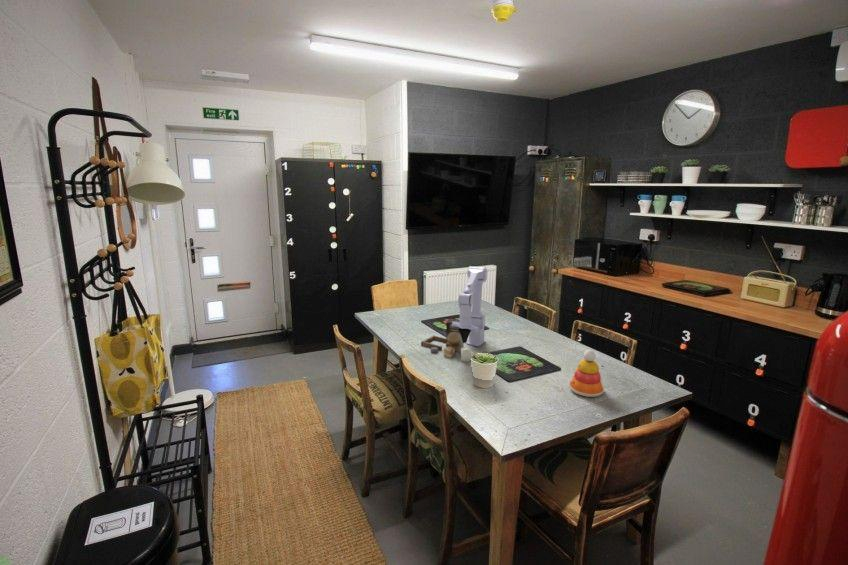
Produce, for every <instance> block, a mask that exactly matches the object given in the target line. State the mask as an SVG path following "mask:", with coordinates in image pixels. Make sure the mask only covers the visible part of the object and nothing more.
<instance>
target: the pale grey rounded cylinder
mask: <svg viewBox="0 0 848 565" xmlns="http://www.w3.org/2000/svg"><path fill="white" fill-rule="evenodd" d="M471 356H472V349H471V348H470V347H469V346H465V347H463V348H461V352H460V361H461V362H463V363H468V362H471V360H470V359H472V358H471Z"/></svg>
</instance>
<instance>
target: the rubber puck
mask: <svg viewBox="0 0 848 565" xmlns="http://www.w3.org/2000/svg"><path fill="white" fill-rule="evenodd" d="M430 353H432V354H438V353H439V350H438V348H437V347H432V348H430Z"/></svg>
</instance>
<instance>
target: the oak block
mask: <svg viewBox="0 0 848 565" xmlns="http://www.w3.org/2000/svg"><path fill="white" fill-rule="evenodd" d="M443 356H444V357H447V358H452V357H454V356H455V351H454V348H452V347H449V346H448V347H446V346H445V348H443Z"/></svg>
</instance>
